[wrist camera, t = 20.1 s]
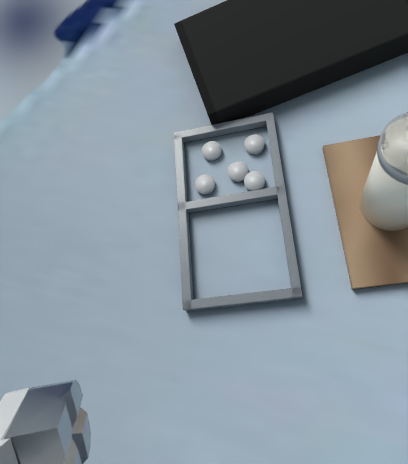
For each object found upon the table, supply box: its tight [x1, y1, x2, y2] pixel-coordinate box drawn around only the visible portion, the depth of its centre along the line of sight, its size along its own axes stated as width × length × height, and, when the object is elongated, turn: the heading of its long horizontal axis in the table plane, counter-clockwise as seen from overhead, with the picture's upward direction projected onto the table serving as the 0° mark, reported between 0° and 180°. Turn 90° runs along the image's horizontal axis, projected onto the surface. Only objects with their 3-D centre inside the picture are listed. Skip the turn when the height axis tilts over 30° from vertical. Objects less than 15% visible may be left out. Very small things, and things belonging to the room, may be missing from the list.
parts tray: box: [174, 112, 302, 311], centre depth 37 cm, size 11×19×1 cm, turn 4°
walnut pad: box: [323, 135, 408, 289], centre depth 34 cm, size 9×14×1 cm, turn 4°
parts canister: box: [360, 112, 408, 231], centre depth 29 cm, size 5×5×10 cm
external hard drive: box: [174, 0, 408, 125], centre depth 42 cm, size 14×23×3 cm, turn 106°
